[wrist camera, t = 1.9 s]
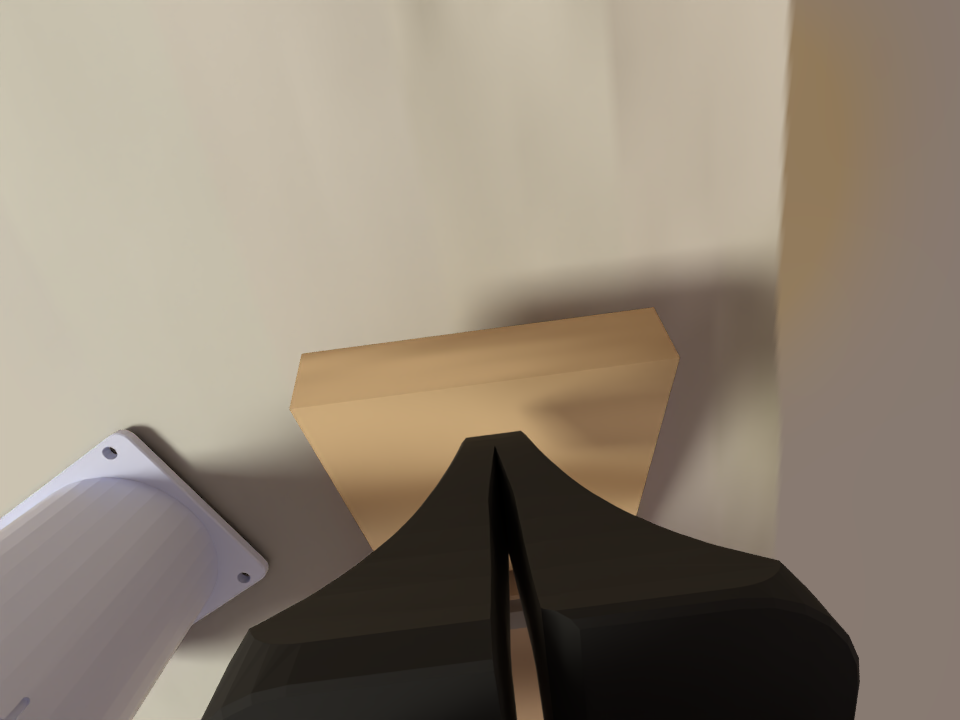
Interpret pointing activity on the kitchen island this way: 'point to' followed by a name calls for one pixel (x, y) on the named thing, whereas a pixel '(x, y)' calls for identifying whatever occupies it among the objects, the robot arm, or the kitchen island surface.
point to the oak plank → (487, 408)
